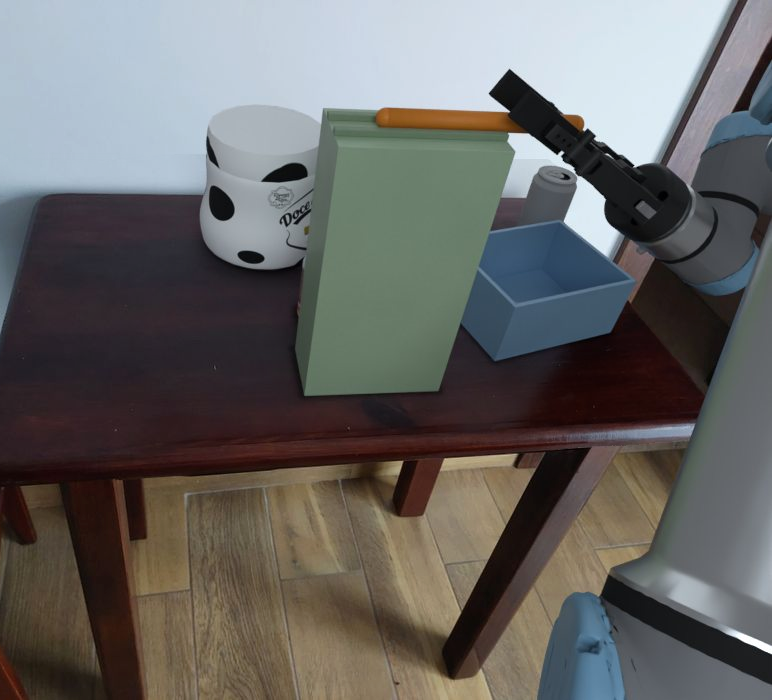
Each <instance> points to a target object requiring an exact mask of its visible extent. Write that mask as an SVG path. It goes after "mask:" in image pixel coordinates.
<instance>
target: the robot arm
mask: <svg viewBox="0 0 772 700" xmlns="http://www.w3.org/2000/svg"><path fill="white" fill-rule="evenodd" d="M488 95H489V96H490V98H492V99H493V100H494V101H496V102H497V103H498V104H500V105H501V106H502V107H503V108H504V109H506V110H507V111H508V112H509V114H508V115H507V116H508V117H509V118H510V119H511V120H512V121H514V122H515V123H516V124H518V125H519V126H520V127H521V128H523V129H524V130H525V131H527V132H528V133H529V134H528V135H529V136H530V137H532V138H534V139H536V141H538V142H539V143H541V144H542V145H543V146H544V147H546V148H547V149H548V150H549V151H551V152H552V153H553V154H555V155H556V156H558V155H559V154H560V153H561V152H563V153H562V154H561V155H560V158H561V159H562V162H564V164H567V165H569V166H571V167H572V168H573V171H574V174H575V175H576V176H577V177H580V178H582V179H583V180H585V181H586V182H587V183H589V184H590V185H591V186H592V187H593V188H594V189H595V190H596V191H597V192H598V193H599V194H600V195H601V196H602V197H603V199H605V200H604V205H603V214H604V217H605V220H606V222H607V224H608V225H609V226H611V227H612V228H613V229H615V230H616V231H617V232H619V234H621V235H623V236H624V237H625V238H627V239H628V240H631V241H632V242H633V243H634V244H635V245H636V246H637V247H636V249H635V251H636V253H638V254H639V255H640V256H641V255H644V254H645V253H646V252H647V253H648V254H649V255H650V256H651V257H653V258H654V259H656V260H657V261H658V262H660V263H661V264H663V266H665V267H666V268H668V269H669V270H670V271H672V272H673V273H674V274H675V275H677V276H678V277H679V279H680V281H682V282H683V283H686V284H687V285H689V286H692V287H694V288H695V289H697V290H698V291H700V292H701V293H703V294H705V295H710V296H714V297H716V296H727V295H731V294H735V293H736V292H739V291H741V290H742V289H743V288H744V291H743V294H742V297H741V299H740V302H739V304H738V307H737V310H736V312H735V316H734V318H733V321H732V324H731V326H730V329H729V331H728V334H727V337H726V339H725V341H724V345H723V347H722V350H721V352H720V356H719V359H718V361H717V364H716V367H715V369H714V372H713V374H712V378H711V380H710V383H709V386H708V389H707V392H706V393H705V396H704V399H703V401H702V405H701V407H700V410H699V413H698V416H697V418H696V421H695V424H694V425H693V428H692V432H691V435H690V437H689V440H688V442H687V445H686V447H685V450H684V453H683V455H682V459H681V462H680V464H679V467H678V469H677V472H676V475H675V477H674V481H673V483H672V485H671V489H670V490H669V494H668V497H667V499H666V502H665V505H664V507H663V510H662V513H661V516H660V518H659V521H658V524H657V526H656V529H655V532H654V535H653V537H652V540H651V543H650V545H649V548H648V550H647V551H646V552H645V553H644V554H642V555H641V556H639V557H637V558H634V559H631V560H627V561H625V562H621V563H619V564H616V565H614V566H612V567H610V568H609V571H608V573H607V576H606V579H605V581H604V584H603V587H602V590H601V591H600V594H599V596H598V595H597V594H596V593H593V592H591V591H585V592H580V591H574V592H572V593H570V594H569V595H568V596H566V598H564V600H563V602H562V604H561V607H560V611H559V613H558V617H556V620H555V621H554V623H553V626H552V628H551V631H550V635H549V639H548V642H547V646H546V650H545V654H544V658H543V664H542V668H541V672H540V679H539V685H538V690H537V696H536V700H772V60H771V61H770V63H769V64H768V66H767V68H766V70H765V71H764V72H763V75H762V77H761V78H760V80H759V83H758V85H757V86H756V88H755V90H754V93H753V94H752V97H751V100H750V105H749V107H748V110H742V111H735V112H732V113H730V114H727V115H725V116H724V117H722V118H721V119H720V120H718V121H717V122H716V123H715V125H714V127H713V129H712V130H711V131H712V132H711V134H710V136H709V138H708V140H707V143H706V145H705V147H704V149H703V150H702V152H701V154H700V156H699V161H698V165H697V168H696V170H695V173H694V175H693V178H692V181H691V183H690V184H691V185H690V184H688V183H686V182H685V181H684V180H683V179H682V178H680V177H679V175H677V174H676V173H675V172H674V171H673V170H671V169H670V168H669V166H666V165H665V164H663V163H658V162H657V163H656V162H648V163H643V164H640V165H637V166H635V164H634V163H633V162H632V161H631V160H629V158H627V157H626V156H625V155H624V154H619V153H617V152H616V151H615V150H614V149H612V148H611V147H610V146H609V145H608V144H607V143H605V142H604V141H600V140H599V141H597V140H596V137H597V135H596V134H595V133H594V132H593V131H592V130H590V128H588V127H587V128H586V129H585V130H584V129H583V130H582V131H581V132H580V131H579V130H578V129H577V128H576V127H575V126H574V125H572V124H571V123H570V122H569V121H568V120H566V119H565V118H564V117H563V116H562V115H560V114H564V113H563V112H562V111H561V110H560V109H559V108H558V107H557V106H556V104H555V103H554V102H553V101H551V100H548V99H547V98H545V97H544V96H543V95H542V94H541V93H539V91H537V90H536V89H535V88H534V87H532V86H531V85H530V84H529V83H527V82H526V81H525V80H524V79H522V77H520V76H519V75H518V74H517V73H515V72H514V71H513V70H512V69H510V68H508V69H507V71H506V72H505V73H504V74H503V75H502V77H500V79H499V80H498V81H497V82H496V84H495V85H494V86H493V87H492V88H491V89H490V90H489V92H488ZM579 132H580V133H579ZM578 133H579V134H578ZM760 214H764V215H768V216H770V220H769V224H768V226H767V229H766V232H765V233H764V237H763V239H762V242H761V245H760V248H759V247H758V246H757V245H756V242H755V240H754V239H752V238H751V236H752V234H753V231H754V228H755V226H756V224H757V221H758V219H759V216H760Z"/></svg>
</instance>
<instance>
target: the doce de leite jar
mask: <svg viewBox="0 0 772 700" xmlns="http://www.w3.org/2000/svg"><path fill="white" fill-rule="evenodd" d="M320 130H321V122H319V121H318V120H317V119H315V118H314V117H312V116H310V115H309V114H306V113H303V112H301V111H299V110H295V109H293V108H288V107H282V106H278V105H268V104H247V105H236V106H233V107H229V108H226V109H222V110H220V111H219V112H218V113H216V114H214V115H213V116H212V117H211V119H210V120H209V123H208V125H207V131H206V137H205V150H206V153H205V167H206V183H205V189H204V193H203V195H202V196H203V197H202V199H201V203H200V206H199V207H200V208H199V225H200V231H201V235H202V239H203V241H204V243H205V245H206V247H207V248H208V250H209V251H210V252H211V253H212V254H213V255H214V256H215V257H217V258H218V259H220V260H221V261H224V262H226V263H227V264H229V265H232V266H234V267H237V268H242V269H245V270H249V271H254V272H255V271H256V272H258V271H261V272H274V271H279V270H285V269H291V268H292V267H295V266H298V265H300V264H303V260H304V257H305V256H306V250H307V242H308V233H309V224H310V216H311V207H312V199H313V190H314V181H315V173H316V164H317V155H318V147H319V138H320Z"/></svg>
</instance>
